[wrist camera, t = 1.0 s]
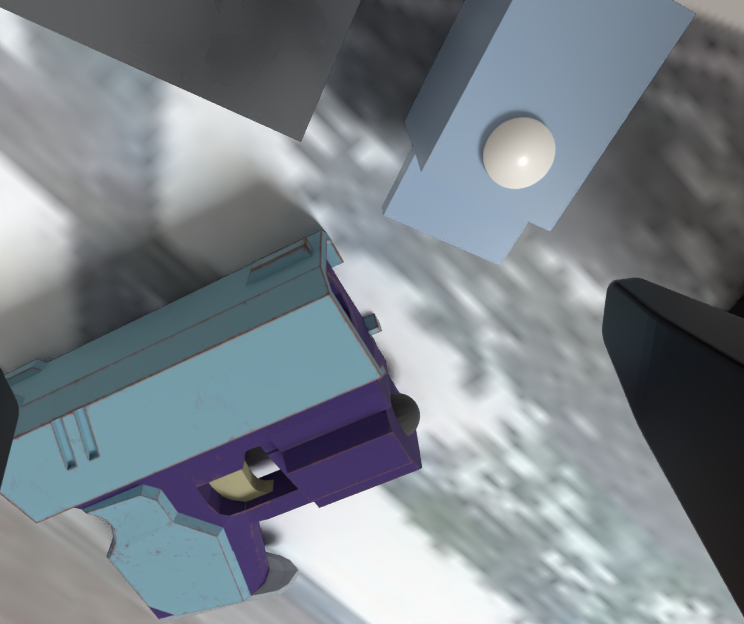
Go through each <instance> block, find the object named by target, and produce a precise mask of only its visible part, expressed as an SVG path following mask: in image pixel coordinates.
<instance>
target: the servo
mask: <svg viewBox="0 0 744 624" xmlns="http://www.w3.org/2000/svg"><path fill="white" fill-rule="evenodd" d="M694 16H695V13H694V12H692V11H690V10H689V9H687V8H685V7H684V6H682V5H681V4H679V3H677V2H676V1H674V0H465V1H464V3H463V5H462V7H461V9H460V11H459V13H458V15H457V17H456V19H455V21H454V23H453V25H452V27H451V29H450V31H449V33H448V35H447V37H446V39H445V41H444V43H443V45H442V47H441V49H440V51H439V53H438V55H437V57H436V59H435V61H434V63H433V65H432V67H431V69H430V71H429V73H428V75H427V77H426V79H425V81H424V83H423V85H422V87H421V89H420V91H419V93H418V95H417V97H416V99H415V101H414V103H413V105H412V107H411V109H410V111H409V113H408V115H407V117H406V119H405V124H406V127H407V130H408V133H409V136H410V139H411V142H412V146H413V147H412V149H411V151H410V153H409V155H408V157H407V159H406V161H405V163H404V165H403V167H402V168H401V170H400V172H399V174H398V176H397V178H396V180H395V182H394V184H393V186H392V188H391V190H390V192H389V194H388V196H387V198H386V200H385V202H384V203H383V205H382V209H383V215H384V216H386V217H389V218H391V219H393V220H395V221H398V222H400V223H402V224H405V225H407V226H409V227H412V228H414V229H416V230H419V231H421V232H423V233H426V234H428V235H430V236H432V237H435V238H437V239H439V240H442V241H444V242H446V243H449V244H451V245H453V246H456V247H458V248H460V249H463V250H465V251H467V252H470V253H472V254H474V255H476V256H479V257H481V258H483V259H486V260H488V261H490V262H493V263H495V264H497V265H501V264H502V262H503V260H504V259H505V257H506V256H507V254H508V253H509V251H510V250H511V248H512V246H513V245H514V243H515V242H516V240H517V239H518V237H519V236H520V234H521V233H522V231H523V229H524V228H525V226H526V225H527V223H528V222H530V223H532V224H535V225H537V226H539V227H541V228H543V229H545V230H548V231H551V230H552V228H553V227H554V225H555V224H556V222H557V221H558V219H559V218H560V216H561V215H562V213H563V212H564V210H565V209H566V207H567V206H568V204H569V203H570V201H571V200H572V198H573V197H574V195H575V194H576V192H577V191H578V189H579V188H580V186H581V185H582V183H583V182H584V180H585V179H586V177H587V176H588V174H589V173H590V171H591V170H592V168H593V167H594V165H595V164H596V162H597V161H598V159H599V158H600V156H601V155H602V153H603V152H604V150H605V149H606V147H607V146H608V144H609V143H610V141H611V140H612V138H613V137H614V135H615V134H616V132H617V131H618V129H619V128H620V126H621V125H622V123H623V122H624V120H625V119H626V117H627V116H628V114H629V113H630V112H631V110H632V109H633V107H634V106H635V104H636V103H637V101H638V100H639V98H640V97H641V95H642V94H643V92H644V91H645V89H646V88H647V86H648V85H649V83H650V82H651V80H652V79H653V77H654V76H655V74H656V73H657V71H658V70H659V68H660V67H661V65H662V64H663V62H664V61H665V59H666V58H667V56H668V55H669V53H670V52H671V50H672V49H673V47H674V46H675V44H676V43H677V41H678V40H679V38H680V37H681V35H682V34H683V32H684V31H685V29H686V28H687V26H688V25H689V23H690V22H691V20H692V19H693V17H694Z"/></svg>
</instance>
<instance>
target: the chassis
mask: <svg viewBox="0 0 744 624" xmlns="http://www.w3.org/2000/svg"><path fill="white" fill-rule="evenodd" d="M360 1H361V0H0V7H1V8H3V9H5V10H7V11H10V12H12V13H14V14H16V15H19V16H21V17H23V18H25V19H28V20H30V21H32V22H34V23H36V24H39V25H41V26H43V27H45V28H48V29H50V30H52V31H54V32H57V33H59V34H61V35H63V36H65V37H68V38H70V39H72V40H74V41H77V42H79V43H81V44H83V45H86V46H88V47H90V48H92V49H94V50H97V51H99V52H101V53H103V54H106V55H108V56H110V57H112V58H115V59H117V60H119V61H121V62H124V63H126V64H128V65H130V66H132V67H135V68H137V69H139V70H141V71H144V72H146V73H148V74H150V75H153V76H155V77H157V78H159V79H161V80H164V81H166V82H168V83H170V84H173V85H175V86H177V87H179V88H182V89H184V90H186V91H188V92H191V93H193V94H195V95H197V96H199V97H202V98H204V99H206V100H208V101H211V102H213V103H215V104H217V105H220V106H222V107H224V108H226V109H228V110H231V111H233V112H235V113H237V114H240V115H242V116H244V117H246V118H249V119H251V120H253V121H255V122H257V123H260V124H262V125H264V126H266V127H269V128H271V129H273V130H275V131H278V132H280V133H282V134H284V135H287V136H289V137H291V138H293V139H295V140H298V141H300V142H301V141H302V138H303V136H304V134H305V131H306V129H307V127H308V124H309V122H310V119H311V117H312V115H313V112H314V110H315V108H316V105H317V103H318V101H319V98H320V96H321V93H322V91H323V89H324V86H325V84H326V82H327V79H328V77H329V75H330V72H331V70H332V68H333V65H334V63H335V60H336V58H337V56H338V53H339V51H340V49H341V46H342V44H343V42H344V39H345V37H346V34H347V32H348V30H349V27H350V25H351V23H352V20H353V18H354V16H355V13H356V11H357V8H358V6H359V4H360Z"/></svg>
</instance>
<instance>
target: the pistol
mask: <svg viewBox="0 0 744 624" xmlns="http://www.w3.org/2000/svg"><path fill="white" fill-rule="evenodd" d="M343 262H344V261H343V260H342V258H341V256H340V254H339V253H338V251H337V249H336V248H335V246H334V244H333V243H332V241H331V239H330V237H329V236H328V234H327V232H325V231H323V230H321V231H318V232H316V233H314V234H312V235H310V236H308V237H305V238H303V239H301V240H299V241H297V242H295V243H293V244H291V245H289V246H286V247H284V248H282V249H280V250H278V251H276V252H274V253H272V254H270V255H268V256H266V257H264V258H262V259H260V260H257V261H255V262H253V263H252V264H250V265H248V266H246V267H244V268H242V269H240V270H238V271H236V272H234V273H231V274H229V275H227V276H225V277H223V278H221V279H219V280H217V281H215V282H213V283H211V284H209V285H207V286H205V287H202V288H200V289H198V290H196V291H194V292H192V293H190V294H188V295H186V296H184V297H182V298H180V299H178V300H176V301H173V302H171V303H169V304H167V305H165V306H163V307H161V308H159V309H157V310H155V311H153V312H151V313H149V314H147V315H144V316H142V317H140V318H138V319H136V320H134V321H132V322H130V323H128V324H126V325H124V326H122V327H120V328H118V329H115V330H113V331H111V332H109V333H107V334H105V335H103V336H101V337H99V338H97V339H95V340H93V341H91V342H89V343H86V344H84V345H82V346H80V347H78V348H76V349H74V350H72V351H70V352H68V353H66V354H64V355H62V356H60V357H57V358H55V359H53V360H51V361H49V362H45V361H42V360H39V359H36V360H34V361H32V362H30V363H28V364H26V365H24V366H22V367H20V368H17V369H15V370H13V371H11V372H9V373H7V374H5V375H4V376H5V378H6V380H7V381H8V383H9V385H10V387H11V389H12V391H13V393H14V395H15V397H16V399H17V402H18V405H19V418H18V422H17V426H16V430H15V434H14V438H13V442H12V446H11V450H10V454H9V458H8V462H7V466H6V470H5V474H4V478H3V482H2V486H1V490H0V494H1V495H2V496H3V497H4V498H6V499H7V500H8V501H9V502H11V503H12V504H13V505H14V506H15V507H17V508H18V509H19V510H20V511H22V512H23V513H24V514H25V515H27V516H28V517H29V518H30V519H31V520H33V521H34V522H35V523H39V522H41V521H43V520H46V519H48V518H50V517H53V516H55V515H58V514H60V513H62V512H65V511H67V510H69V509H72V508H78V509H82V510H83V511H84V512H85V513H87V514H91V515H95V516H97V517H99V518H100V519H102V520H104V521H105V522H107V523H108V524H110V525H111V526H112V532H113V539H112V542H111V545H110V548H109V551H108V554H107V556H106V557H107V558H108V559H109V560H110V561H111V563H112V564H113V565H114V566H115V567H116V569H117V570H118V571H119V572H120V573H121V575H122V576H123V577H124V578H125V579H126V581H127V582H128V583H129V584H130V585H131V587H132V588H133V589H134V590H135V591H136V593H137V594H138V595H139V596H140V597H141V599H142V600H143V601H144V602H145V603H146V604H147V606H148V607H149V608H150V609H151V610H152V612H153V613H154V614H155V615H156V616H157V618H158V619H159V620H160V621H161V622H162V623H164V622H168V621H172V620H176V619H180V618H184V617H188V616H192V615H196V614H200V613H204V612H208V611H212V610H216V609H220V608H224V607H227V606H231V605H235V604H239V603H243V602H247V601H251V600H256V599H261V598H266V597H271V596H275V595H279V594H281V593H282V592H284V591H286V590H287V589H289V588H290V587H291V585H292V584H293V582H294V581H295V579H296V578H297V576H298V575H299V572H298V569H297V568H296V567H295V566H294V564H293V563H292V562H291V561H290V560H288V559H286V558H284V557H282V556H280V555H276V554H272V553H268V552H266V551H265V546H264V542H263V538H262V533H261V529H260V524H259V521H262V520H266V519H270V518H272V517H275V516H277V515H280V514H283V513H285V512H288V511H290V510H293V509H295V508H298V507H301V506H303V505H306V504H308V503H311V502H315V503H316V505H317V506H318V507H319V508H320V507H323V506H326V505H328V504H331V503H333V502H336V501H339V500H341V499H344V498H346V497H349V496H352V495H354V494H357V493H359V492H362V491H365V490H367V489H370V488H372V487H375V486H378V485H380V484H383V483H385V482H388V481H391V480H393V479H396V478H398V477H401V476H404V475H406V474H409V473H411V472H414V471H417V470H419V469H421V468H422V464H421V457H420V451H419V445H418V439H417V432H416V428H417V426H418V424H419V420H420V412H419V408H418V406H417V404H416V402H415V401H414V400H413V399H412V398H411V397H409V396H407V395H405V394H401V393H399V391H398V390H397V388H396V386H395V385H394V383H393V382H392V380H391V378H390V377H389V375H388V373H387V366H386V360H385V359H384V357H383V355H382V354H381V352H380V351H379V349H378V347H377V346H376V343H375V340H374V339H373V337H372V336H371V335H373V334H376V333H378V332H380V331H382V329H381V326H380V323H379V321H378V319H377V317H376V316H375V314H373V315H370V316H368V317H366V318H364V319H363V318H362V316H361V314H360V313H359V311H358V310H357V308H356V306H355V305H354V303H353V302H352V300H351V298H350V297H349V295H348V294H347V292H346V290H345V289H344V287H343V286H342V284H341V283H340V281H339V279H338V278H337V276H336V274H335V273H334V271H333V269H332V267H334V266H336V265H339V264H341V263H343ZM258 446H260V447H261V448H262V449H263V450H264V452H267V455H268V456H269V457H270V458H271V460H272V461H273V462H274V463H275V464H276V465H277V466H278V467H279V468H280V470H278V471H275V472H273V473H270V474H268V475H265V476H263V477H260V478H257V477H256V476H255V475H254V474H253V473H252V472H251V470H250V468H249V467H248V465H247V463H246V462H245V454H246V451H248V450H250V449H253V448H255V447H258Z"/></svg>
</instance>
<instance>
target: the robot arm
mask: <svg viewBox="0 0 744 624" xmlns="http://www.w3.org/2000/svg"><path fill="white" fill-rule="evenodd" d="M602 335H603V340H604V344H605V346H606V349H607V351H608V354H609V356H610V359H611V361H612V364H613V366H614V368H615V371H616V373H617V376H618V378H619V381H620V383H621V386H622V388H623V391H624V393H625V396H626V398H627V401H628V403H629V406H630V408H631V411H632V413H633V415H634V418H635V420H636V422H637V424H638V426H639V428H640V430H641V432H642V434H643V436H644V438H645V440H646V442H647V444H648V445H649V447H650V449H651V451H652V453H653V454H654V456H655V458H656V460H657V462H658V463H659V465H660V467H661V469H662V471H663V472H664V474H665V476H666V478H667V480H668V481H669V483H670V485H671V487H672V489H673V491H674V492H675V494H676V496H677V498H678V500H679V501H680V503H681V505H682V507H683V509H684V510H685V512H686V514H687V516H688V518H689V519H690V521H691V523H692V525H693V527H694V528H695V530H696V532H697V534H698V536H699V537H700V539H701V541H702V543H703V545H704V546H705V548H706V550H707V552H708V554H709V556H710V557H711V559H712V561H713V563H714V565H715V566H716V568H717V570H718V572H719V574H720V575H721V577H722V579H723V581H724V583H725V584H726V586H727V588H728V590H729V592H730V593H731V595H732V597H733V599H734V601H735V602H736V604H737V606H738V608H739V610H740V611H741V613H742V615H743V617H744V295H743V296H742V298H741V299H740V300H739V301H738V302H737V303H736V304H735V305H734V307H733V308H732V309H731V310H730V311H729V312H725V311H723V310H720V309H718V308H715V307H713V306H710V305H708V304H705V303H702V302H700V301H697V300H695V299H692V298H690V297H687V296H685V295H682V294H680V293H677V292H674V291H672V290H669V289H667V288H664V287H662V286H659V285H657V284H654V283H652V282H649V281H647V280H644V279H641V278H628V279H620V280H614V281H612V282H611V283H610V284H609V286H608V288H607V293H606V300H605V308H604V316H603V324H602ZM18 418H19V405H18V402H17V399H16V397H15V395H14V393H13V391H12V389H11V387H10V385H9V383H8V381H7V380H6V378H5V376H4V374H3V372H2V370H1V368H0V490H1V486H2V482H3V478H4V474H5V470H6V466H7V462H8V458H9V454H10V450H11V446H12V442H13V438H14V434H15V430H16V426H17V422H18Z"/></svg>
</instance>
